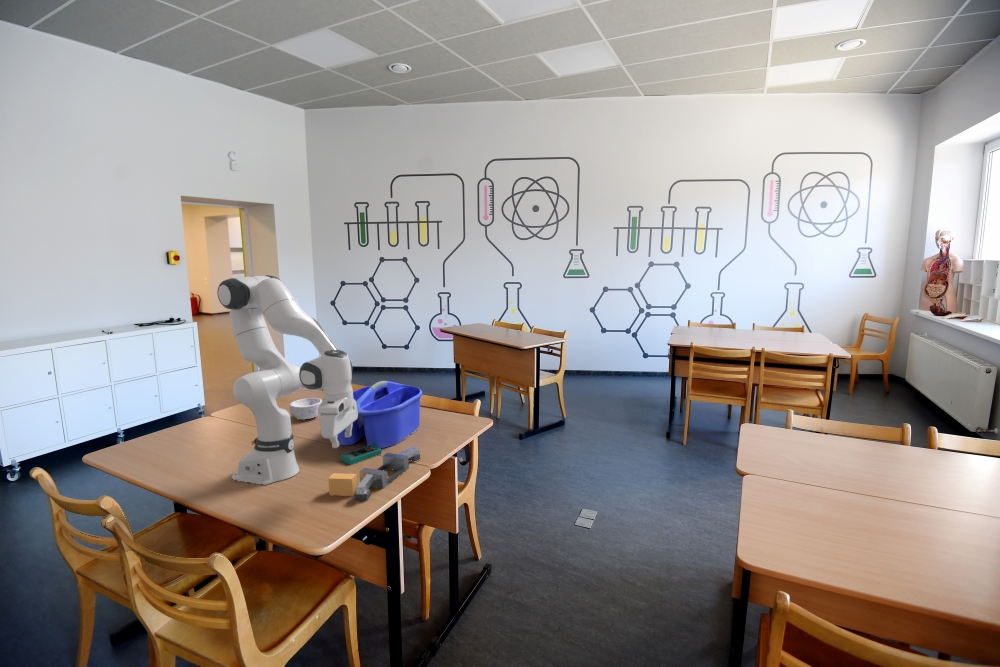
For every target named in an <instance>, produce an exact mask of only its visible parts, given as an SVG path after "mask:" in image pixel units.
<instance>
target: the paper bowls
mask: <svg viewBox="0 0 1000 667" xmlns="http://www.w3.org/2000/svg"><path fill="white" fill-rule="evenodd" d="M322 401H323V399H321V398H320V397H319V398H317V397H309V398H308V397H307V398H301V399H297V400H294V401H292V402H290V403H289V414H290V416H293V417H294V418H295V419H296V418H298V419H310V418H314V417H316V416H318V417H319V416H320V413H318V407H319V405H320V404H321V402H322ZM316 418H317V417H316ZM298 419H297V420H298ZM314 419H315V418H314Z"/></svg>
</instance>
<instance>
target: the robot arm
mask: <svg viewBox="0 0 1000 667" xmlns="http://www.w3.org/2000/svg"><path fill="white" fill-rule="evenodd" d="M216 294H217V299H218V301H219V302H220V304H221V305H222V306H223V307H224V308H225V309H228V310H229V319H230V325H231V330H232V333H233V336H234V339H235V341H236V344H237V347H238V350H239V353H240V355H241V357H242V358H243V359H244V360H245V361H247V362H251V363H253V364H254V365H256V366H257V367H258V368H259V369H260V370H257V371H253V372H249V373H247V374H244V375H243V376H240V377H238V378H237V379H236V380H235V381H234V383H233V387H232V388H233V389H232V391H233V395H234V397H235V399H236V401H237V402H238V403H240V404H241V405H243V406H246V407H247V408H249V410H250V411H251V413H252V414H253V416H254V419H255V424H256V432H257V437H256V438H254V440H252V441H251V442H250V443H251V446H254V447H253V448H252V449H251V450H250V451H249V452H247V453H246V454H245V455H244V456H242V457H241V459H240V460H239V462H238V468H237V470H235V472H234V473H233V474H231V480H232V479H233V480H239V481H238V482H240V481H245V482H244V483H247V482H251V483H250V484H254V483H256V484H255V485H261V484H263V486H265V485H270V484H271V483H274V482H275V483H276V482H279V481H284V480H287V479H289V478H291V477H294V476H296V475H297V474H298V473H299V472H300V467H299V464H298V462H297V459H296V455H295V449H294V448H295V442H294V441H295V440H294V434H293V432H292V422H291V420H292V419H291V414H290V412H288V411H287V410H286V408H285V409H284V408H282V407H280V406H278V403H277V399H278V398H282V397H285V396H288V395H291V394H293V393H295V392H297V391H298V390H300V389H301V388H303V387H304V388H306V389H308V390H319V389H323V396H324V397H323V399H322V402H321V404H320V405H319V407H318V413H319V426H320V433H321V436H322V438H323V439H329V440H330V442H331V446H332V447H331V448H332V449H338V448H339V447H340V444H339V441H338V440H337V437H338V434H339V433H340V432H342V431H343V430H344V429H345V428H346V430H345V431H346V432H344V433H345V437H348V438H349V437H350V436H351V435H352V434H351V431H352V426H353V422H354V421H355V420H356V419H357V418H358V411H357V404H356V401H355V400H354V398H353V392H354V390H353V386H352V379H353V378H352V377H353V375H352V373H353V364H352V361H351V360H350V357H349V354H348V353H347V352H345V351H344V350H341V349H340V348H339V347H338V346H337V345H336V343H335V342H334V341H333V340H332V338H331V337H330V335H329V334H328V333H327V331H326V330H325V329H324V328H323V327H322V325H321V324H320V323H319V322H318V321H317V320H316V319H315V318H313V317H312V316H310V315H309V314H307V313H306V312H305V310H303V308H301V306H300V305H299V303H298V302H297V300H296V298H294V295H293V294H292V292H291V291H290V290H289V289H288V287H287V286H286V285H285V284H284V283H283V282H282V280H281V279H280V278H279V277H277V276H273V275H268V274H267V275H248V276H242V277H237V278H236V277H235V278H233V277H231V278H227V279H224V280H222V281H221V282H220V283H219V285H218V287H217V292H216ZM267 323H268V324H267ZM268 325H269V326H270V327H271V328H272V329H273V330H274V331H275V332H277V333H279V334H283V335H289V336H296V337H299V338H303V339H305V340H307V341H309V342H310V343H311V344H312V345H313V347H315V349H316V351H318V353H319V354H320V356H318V357H316V358H313V359H311V360H308V361H306V362H304V363H302V364H301V366H300V367H299V366H298V365H296V364H293V363H292V362H290V361H289V360H287V358H285V357H284V356H283V355H282V354H281V353H280V352H279V350H278V349H277V347H276V345H275V343H274V340H273V338H272V334H271V333H270V331H269V328H268ZM233 480H232V481H233Z"/></svg>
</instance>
